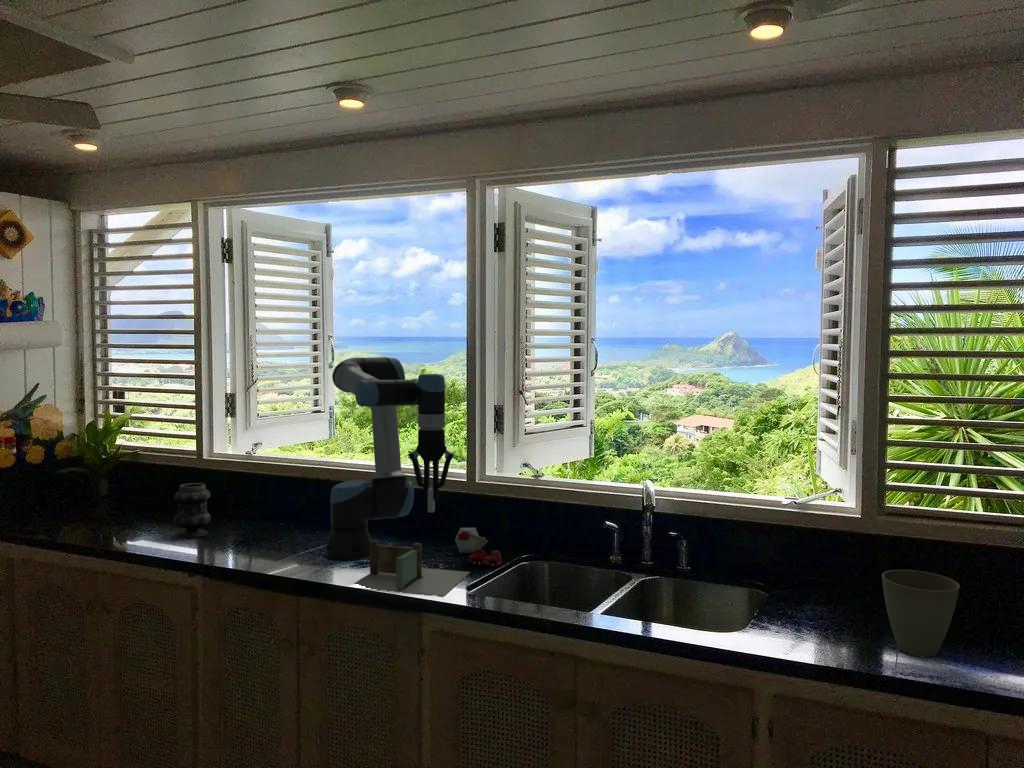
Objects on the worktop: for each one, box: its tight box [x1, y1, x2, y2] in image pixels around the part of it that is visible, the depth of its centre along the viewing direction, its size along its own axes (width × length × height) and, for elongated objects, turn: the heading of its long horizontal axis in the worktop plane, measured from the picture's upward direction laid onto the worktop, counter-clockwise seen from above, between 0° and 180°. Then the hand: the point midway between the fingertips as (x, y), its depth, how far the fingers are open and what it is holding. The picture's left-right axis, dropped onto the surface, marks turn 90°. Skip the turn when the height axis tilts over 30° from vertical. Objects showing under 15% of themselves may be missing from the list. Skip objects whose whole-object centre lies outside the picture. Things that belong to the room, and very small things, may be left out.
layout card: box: [353, 567, 471, 597], centre depth 210 cm, size 28×22×1 cm
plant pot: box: [881, 569, 961, 658], centre depth 161 cm, size 15×15×16 cm
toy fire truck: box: [457, 531, 502, 568], centre depth 227 cm, size 3×14×10 cm, turn 71°
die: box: [454, 527, 480, 554], centre depth 241 cm, size 8×9×10 cm
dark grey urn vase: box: [173, 482, 211, 539], centre depth 262 cm, size 12×12×18 cm
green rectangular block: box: [396, 549, 417, 589], centre depth 206 cm, size 10×2×8 cm, turn 162°
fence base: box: [369, 539, 423, 578], centre depth 214 cm, size 16×2×10 cm, turn 75°
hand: (431, 511), depth 208 cm, fingers closed
